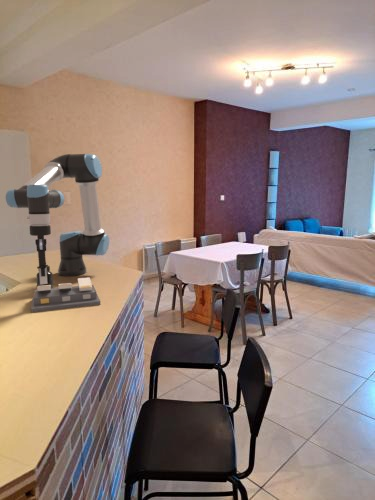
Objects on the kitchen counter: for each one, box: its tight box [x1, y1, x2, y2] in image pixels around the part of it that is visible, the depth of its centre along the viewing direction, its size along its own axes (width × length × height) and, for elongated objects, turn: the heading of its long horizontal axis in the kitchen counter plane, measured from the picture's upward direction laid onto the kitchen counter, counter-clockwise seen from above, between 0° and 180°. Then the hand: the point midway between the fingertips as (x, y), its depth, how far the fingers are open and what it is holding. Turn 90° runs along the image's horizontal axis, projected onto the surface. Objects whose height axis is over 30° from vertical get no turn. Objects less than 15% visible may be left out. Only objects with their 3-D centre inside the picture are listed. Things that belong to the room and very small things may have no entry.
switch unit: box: [30, 284, 101, 313], centre depth 145 cm, size 16×26×6 cm, turn 112°
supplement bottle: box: [35, 265, 54, 289], centre depth 159 cm, size 7×7×12 cm
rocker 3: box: [77, 276, 93, 291], centre depth 149 cm, size 9×5×2 cm, turn 22°
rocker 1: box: [36, 285, 51, 291], centre depth 143 cm, size 9×5×2 cm, turn 22°
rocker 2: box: [57, 282, 73, 289], centre depth 146 cm, size 9×5×2 cm, turn 22°
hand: (43, 283), depth 140 cm, fingers closed
